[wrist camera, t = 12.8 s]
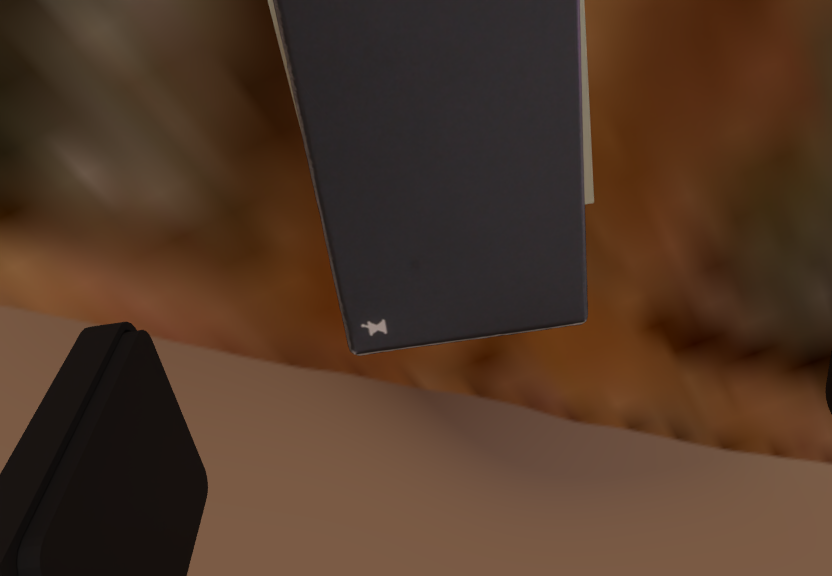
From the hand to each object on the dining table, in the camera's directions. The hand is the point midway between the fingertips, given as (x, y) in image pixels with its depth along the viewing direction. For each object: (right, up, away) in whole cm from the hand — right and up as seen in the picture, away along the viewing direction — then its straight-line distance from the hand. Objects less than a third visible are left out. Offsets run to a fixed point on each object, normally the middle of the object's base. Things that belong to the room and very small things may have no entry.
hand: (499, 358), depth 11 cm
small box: (-1, +9, +15) cm, 18 cm away
